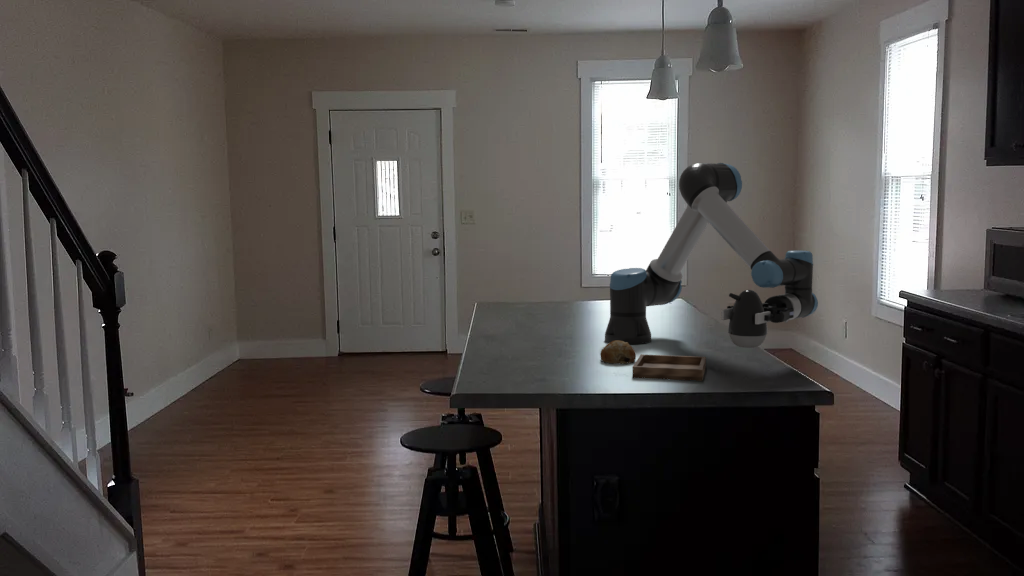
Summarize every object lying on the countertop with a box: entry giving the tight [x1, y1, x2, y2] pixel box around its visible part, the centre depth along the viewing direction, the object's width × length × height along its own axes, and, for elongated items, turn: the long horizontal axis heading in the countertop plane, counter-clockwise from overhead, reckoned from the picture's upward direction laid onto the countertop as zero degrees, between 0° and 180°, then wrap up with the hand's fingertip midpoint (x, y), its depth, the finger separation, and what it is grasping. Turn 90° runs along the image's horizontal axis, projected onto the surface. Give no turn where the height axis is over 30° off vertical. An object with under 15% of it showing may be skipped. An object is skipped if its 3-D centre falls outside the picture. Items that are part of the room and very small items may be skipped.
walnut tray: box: [632, 353, 707, 382], centre depth 239 cm, size 18×18×3 cm
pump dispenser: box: [727, 289, 768, 349], centre depth 236 cm, size 10×10×15 cm
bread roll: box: [599, 340, 637, 365], centre depth 256 cm, size 10×10×8 cm
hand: (739, 317), depth 233 cm, fingers closed on pump dispenser, 9 cm apart
